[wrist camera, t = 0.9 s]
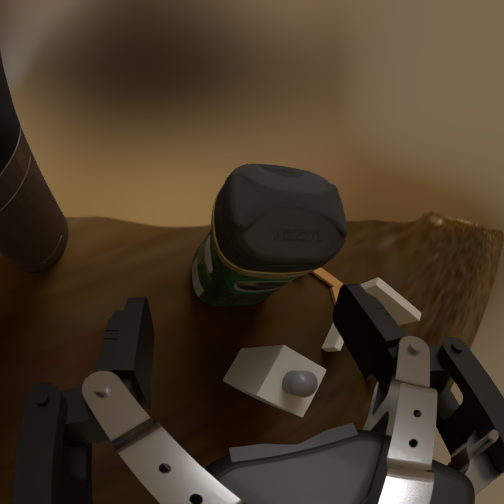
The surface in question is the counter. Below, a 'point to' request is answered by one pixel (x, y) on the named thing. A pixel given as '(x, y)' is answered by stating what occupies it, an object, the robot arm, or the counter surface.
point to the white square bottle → (276, 377)
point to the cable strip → (329, 282)
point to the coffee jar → (266, 234)
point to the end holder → (389, 299)
